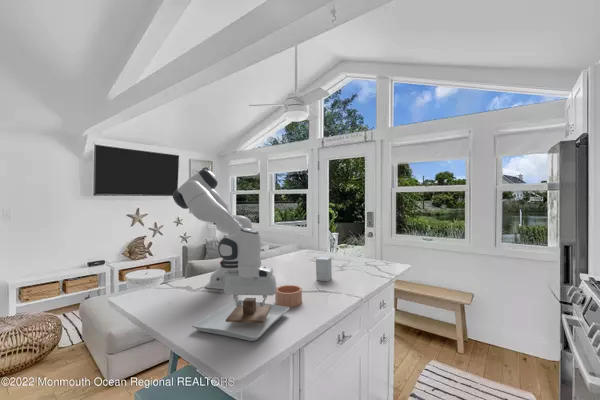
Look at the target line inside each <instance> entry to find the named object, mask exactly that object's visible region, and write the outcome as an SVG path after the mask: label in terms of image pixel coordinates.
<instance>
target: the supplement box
mask: <svg viewBox="0 0 600 400" xmlns="http://www.w3.org/2000/svg"><path fill="white" fill-rule="evenodd" d="M332 274H333V272H332V257H330V256H319V257H317V258H315V276H316V277H315V278H316V281H321V282H329V281H330V280H331V279H333V276H332Z"/></svg>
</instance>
